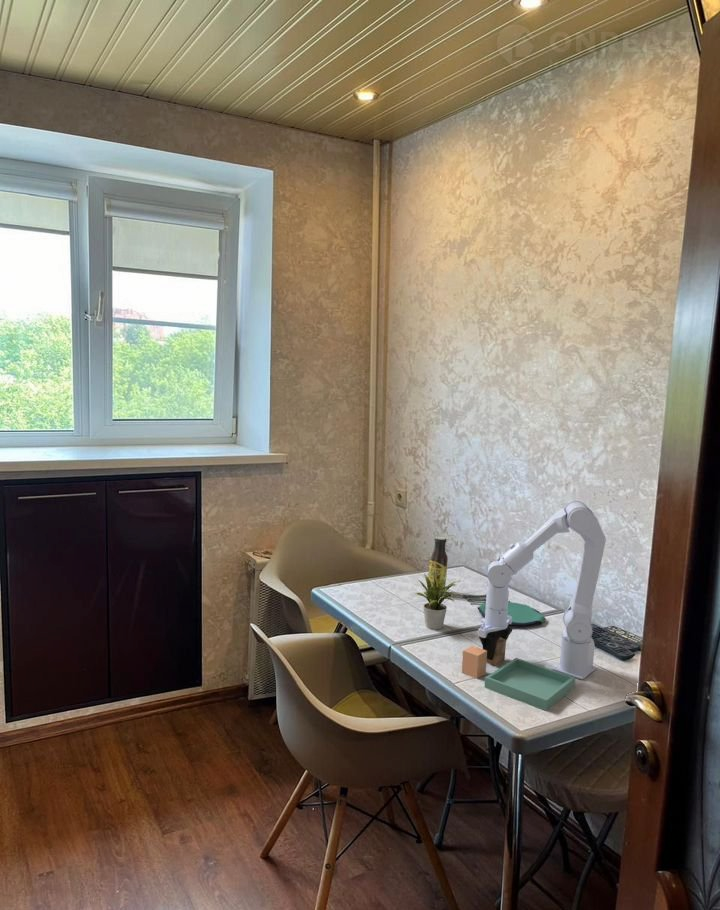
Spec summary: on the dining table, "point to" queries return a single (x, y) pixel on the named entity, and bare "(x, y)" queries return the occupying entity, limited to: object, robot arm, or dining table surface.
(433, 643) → the dining table surface
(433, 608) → the house plant
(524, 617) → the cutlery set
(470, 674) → the terracotta block
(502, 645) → the walnut block
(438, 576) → the sauce bottle
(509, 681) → the tray
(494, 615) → the robot arm
